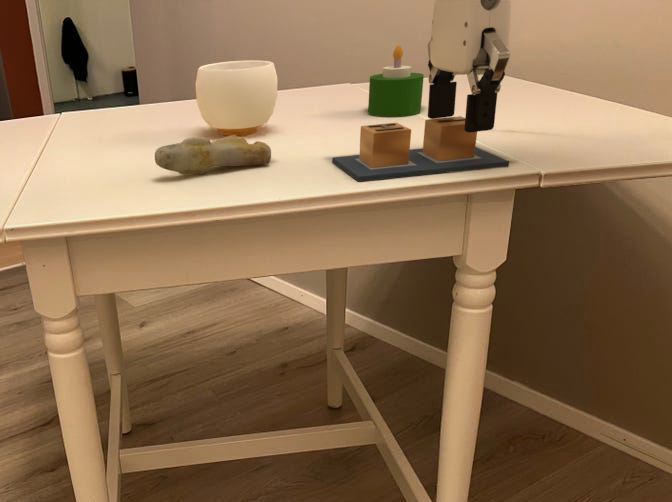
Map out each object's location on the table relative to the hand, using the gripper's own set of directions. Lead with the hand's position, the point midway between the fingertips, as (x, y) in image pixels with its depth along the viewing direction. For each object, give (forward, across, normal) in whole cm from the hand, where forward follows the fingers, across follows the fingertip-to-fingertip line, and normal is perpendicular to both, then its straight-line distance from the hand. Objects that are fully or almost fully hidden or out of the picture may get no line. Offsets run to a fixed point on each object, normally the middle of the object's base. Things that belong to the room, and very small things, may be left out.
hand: (458, 123), depth 83 cm
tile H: (+4, 0, +9) cm, 10 cm away
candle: (+4, +33, -5) cm, 34 cm away
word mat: (+4, 0, +5) cm, 6 cm away
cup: (+4, +29, +21) cm, 36 cm away
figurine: (+4, +7, +29) cm, 30 cm away
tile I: (+4, 0, +1) cm, 4 cm away
